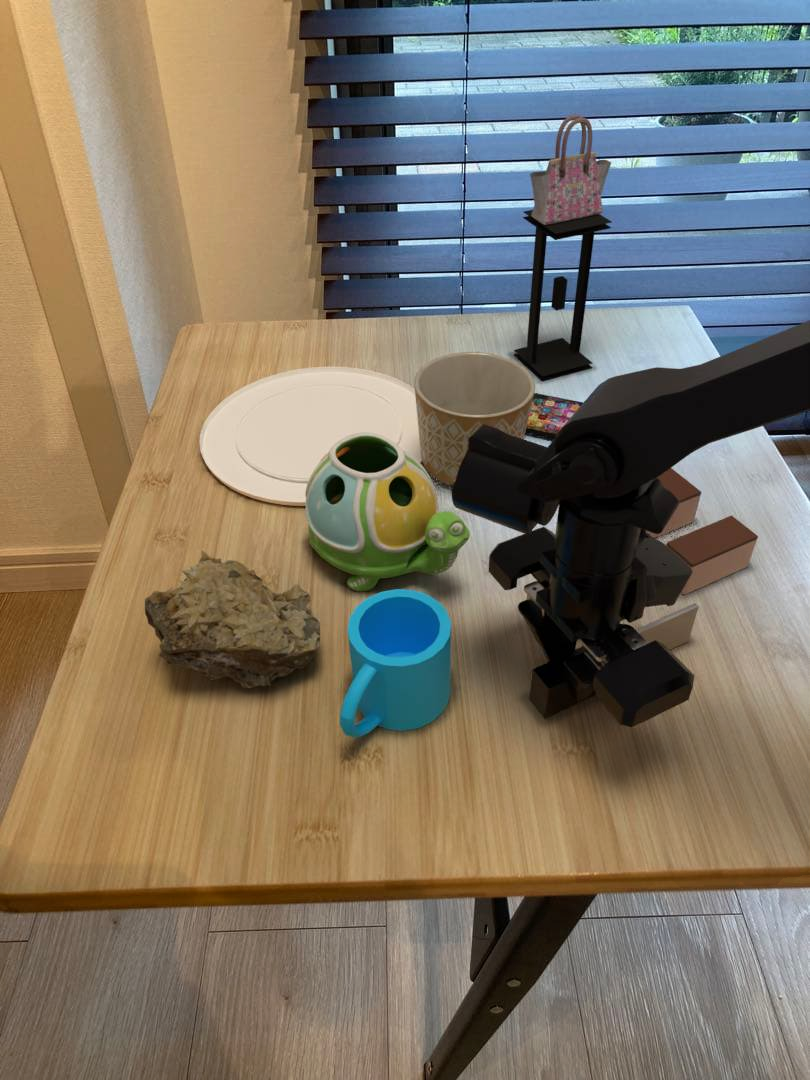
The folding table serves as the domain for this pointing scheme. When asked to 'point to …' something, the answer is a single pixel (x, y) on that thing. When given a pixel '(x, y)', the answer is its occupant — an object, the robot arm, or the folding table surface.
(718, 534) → the brown block
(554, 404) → the smartphone
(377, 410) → the plate
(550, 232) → the handbag
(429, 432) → the planter
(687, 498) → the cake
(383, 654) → the mug
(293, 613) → the mineral specimen
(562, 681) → the knife
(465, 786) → the folding table surface
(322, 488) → the turtle holder
